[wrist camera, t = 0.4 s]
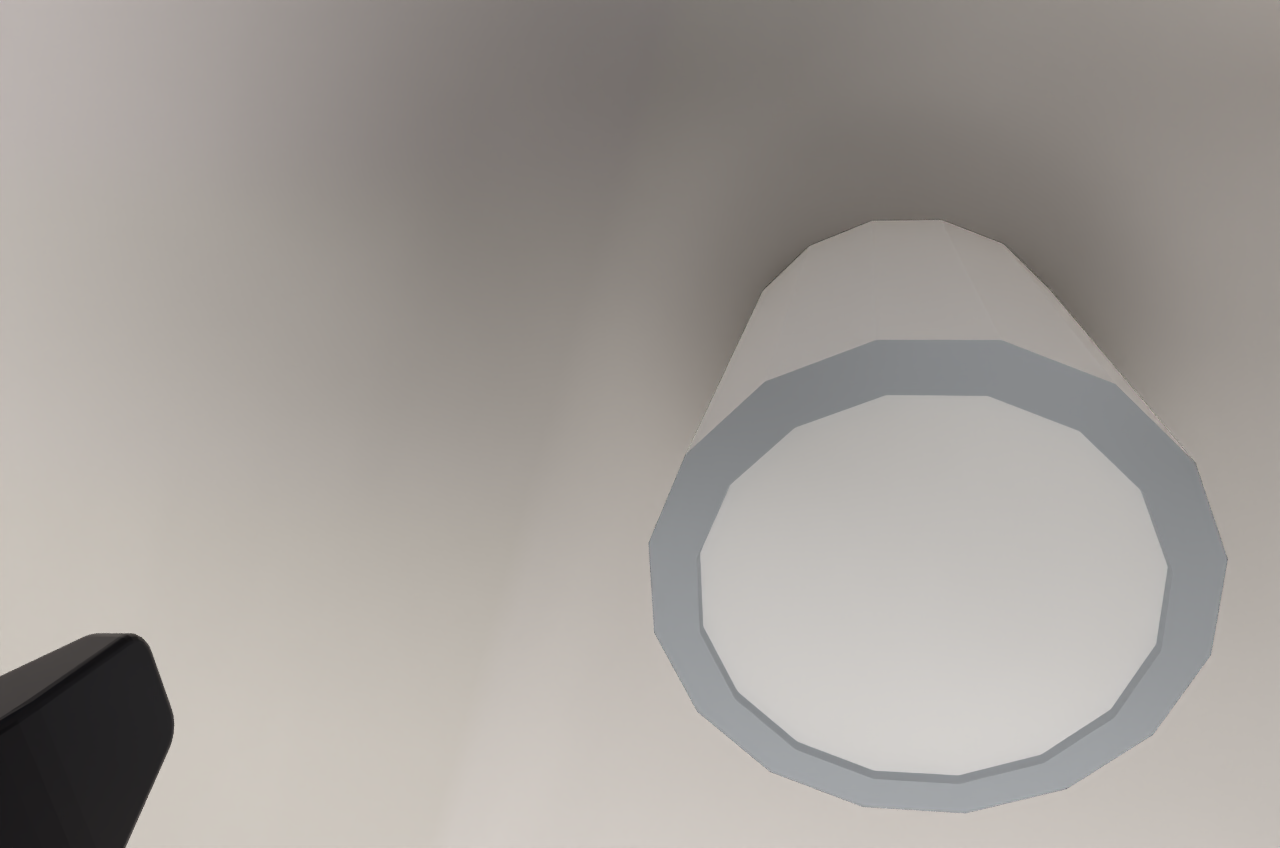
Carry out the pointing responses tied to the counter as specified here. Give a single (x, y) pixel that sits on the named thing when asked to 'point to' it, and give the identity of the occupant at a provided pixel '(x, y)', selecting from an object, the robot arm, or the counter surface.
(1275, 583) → the counter surface
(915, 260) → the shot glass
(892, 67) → the counter surface
